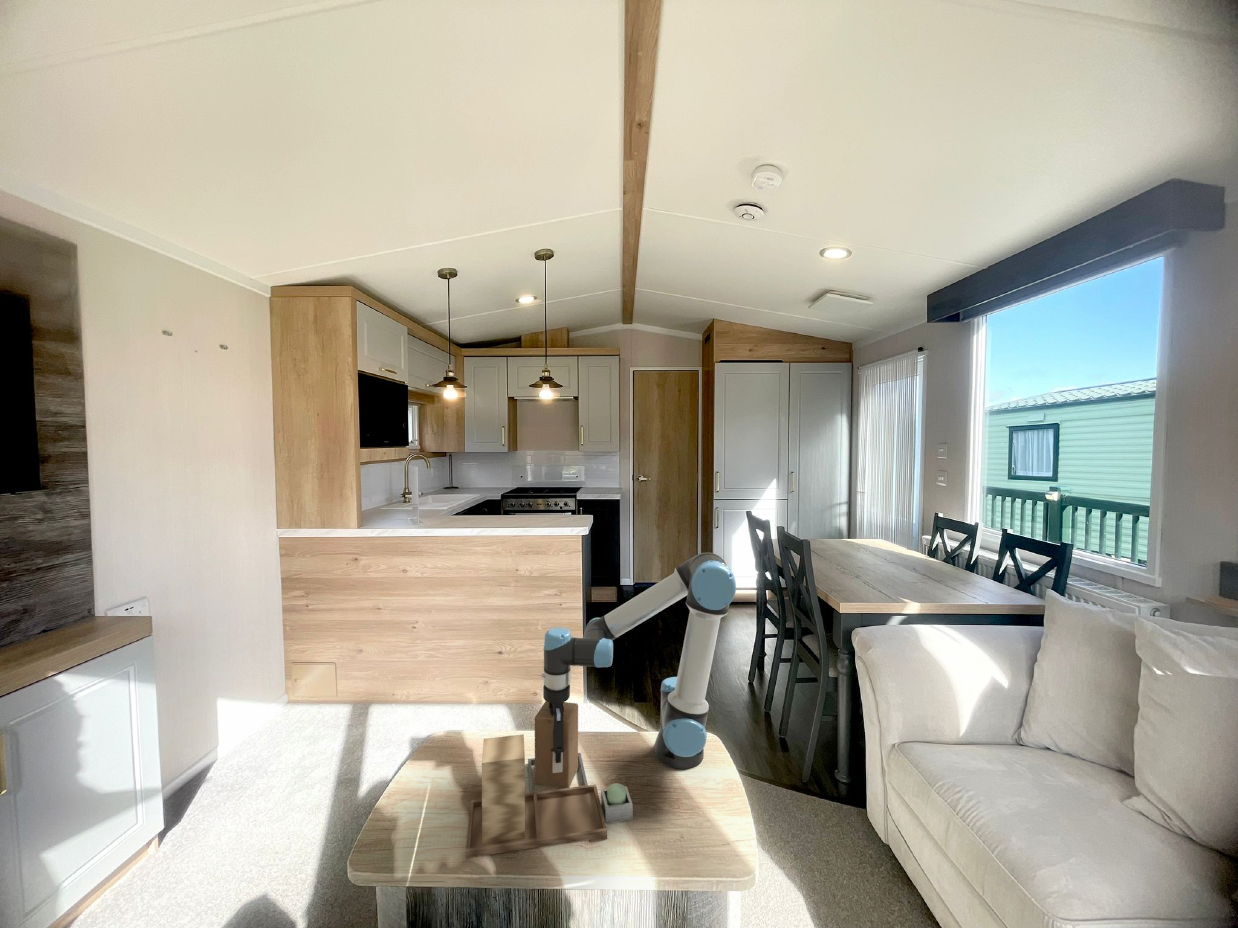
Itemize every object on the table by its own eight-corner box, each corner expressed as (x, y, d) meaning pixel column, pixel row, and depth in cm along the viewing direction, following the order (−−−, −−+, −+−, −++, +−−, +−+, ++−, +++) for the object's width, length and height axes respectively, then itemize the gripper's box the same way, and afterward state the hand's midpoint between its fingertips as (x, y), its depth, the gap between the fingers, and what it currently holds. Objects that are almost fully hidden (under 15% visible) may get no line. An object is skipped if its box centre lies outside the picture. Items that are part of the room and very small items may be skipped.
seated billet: (523, 808, 136) (523, 734, 135) (524, 837, 126) (524, 757, 125) (484, 813, 134) (483, 738, 133) (482, 843, 124) (481, 762, 123)
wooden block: (568, 791, 144) (568, 721, 142) (534, 786, 146) (533, 717, 144) (578, 768, 153) (578, 702, 152) (546, 764, 155) (546, 699, 154)
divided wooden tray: (595, 791, 144) (595, 784, 144) (607, 838, 127) (607, 830, 127) (471, 808, 137) (470, 800, 137) (465, 860, 120) (465, 851, 120)
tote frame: (580, 757, 159) (580, 752, 159) (588, 792, 143) (588, 787, 143) (527, 763, 156) (527, 758, 155) (530, 800, 140) (530, 794, 140)
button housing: (626, 800, 140) (626, 786, 140) (632, 819, 134) (632, 804, 133) (600, 803, 139) (600, 789, 139) (605, 823, 132) (605, 807, 132)
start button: (623, 794, 139) (623, 782, 139) (627, 807, 134) (627, 794, 134) (605, 797, 138) (605, 784, 138) (609, 809, 133) (609, 796, 133)
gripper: (540, 665, 159) (539, 733, 160) (546, 707, 135) (545, 787, 136) (565, 664, 161) (564, 731, 162) (575, 705, 137) (573, 783, 138)
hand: (555, 757), depth 149 cm, fingers open, 12 cm apart
